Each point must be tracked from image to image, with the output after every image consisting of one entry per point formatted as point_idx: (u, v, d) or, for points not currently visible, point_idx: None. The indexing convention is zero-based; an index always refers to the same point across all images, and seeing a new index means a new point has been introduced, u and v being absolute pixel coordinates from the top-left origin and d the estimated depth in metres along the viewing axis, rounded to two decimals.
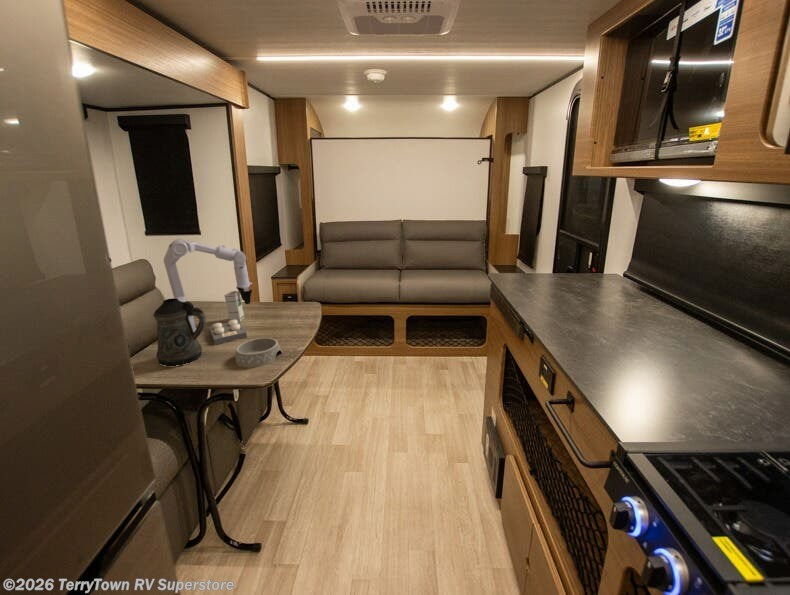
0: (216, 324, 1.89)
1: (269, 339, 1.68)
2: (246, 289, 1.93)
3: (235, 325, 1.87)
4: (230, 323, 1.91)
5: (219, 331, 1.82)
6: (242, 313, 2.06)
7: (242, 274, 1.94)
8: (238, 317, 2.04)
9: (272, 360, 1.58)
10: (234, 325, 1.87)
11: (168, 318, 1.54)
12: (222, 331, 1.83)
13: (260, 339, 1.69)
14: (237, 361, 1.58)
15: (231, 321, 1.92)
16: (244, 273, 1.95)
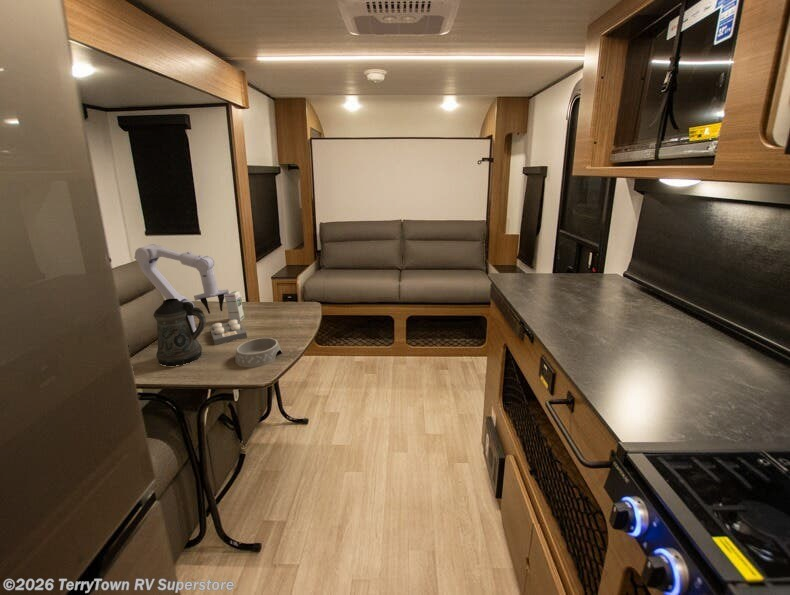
0: (216, 324, 1.89)
1: (269, 339, 1.68)
2: (194, 298, 1.82)
3: (235, 325, 1.87)
4: (230, 323, 1.91)
5: (219, 331, 1.82)
6: (242, 313, 2.06)
7: (205, 283, 1.81)
8: (238, 317, 2.04)
9: (272, 360, 1.58)
10: (234, 325, 1.87)
11: (168, 318, 1.54)
12: (222, 331, 1.83)
13: (260, 339, 1.69)
14: (237, 361, 1.58)
15: (231, 321, 1.92)
16: (208, 282, 1.81)
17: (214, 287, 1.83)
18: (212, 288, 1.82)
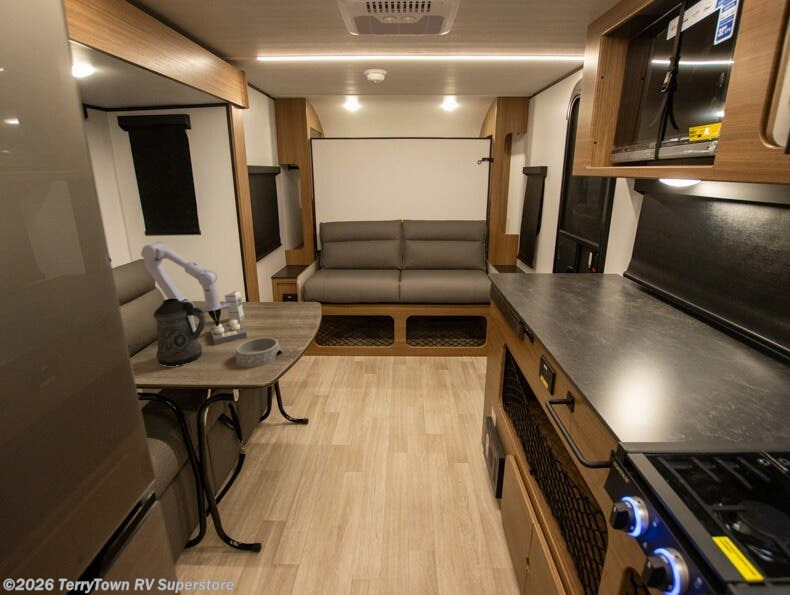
0: None
1: (269, 339, 1.68)
2: None
3: (235, 325, 1.87)
4: (230, 323, 1.91)
5: (219, 331, 1.82)
6: (242, 313, 2.06)
7: (208, 297, 1.83)
8: (238, 317, 2.04)
9: (272, 360, 1.58)
10: (234, 325, 1.87)
11: (168, 318, 1.54)
12: (222, 331, 1.83)
13: (260, 339, 1.69)
14: (237, 361, 1.58)
15: (231, 321, 1.92)
16: (210, 296, 1.83)
17: (216, 301, 1.85)
18: (214, 302, 1.84)
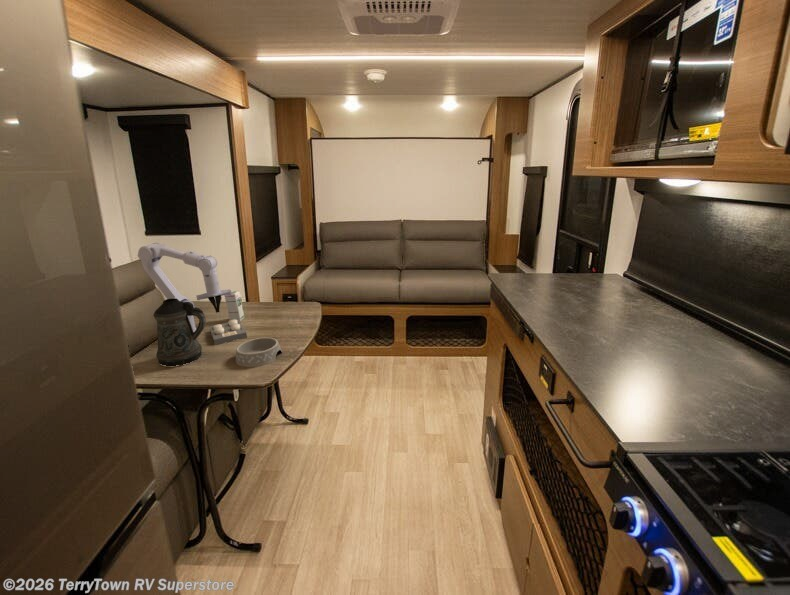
0: (216, 326, 1.90)
1: (269, 339, 1.68)
2: None
3: (235, 325, 1.87)
4: (230, 323, 1.91)
5: (219, 331, 1.82)
6: (242, 313, 2.06)
7: (208, 283, 1.80)
8: (238, 317, 2.04)
9: (272, 360, 1.58)
10: (234, 325, 1.87)
11: (168, 318, 1.54)
12: (222, 331, 1.83)
13: (260, 339, 1.69)
14: (237, 361, 1.58)
15: (231, 321, 1.92)
16: (210, 282, 1.80)
17: (217, 287, 1.82)
18: (215, 288, 1.82)
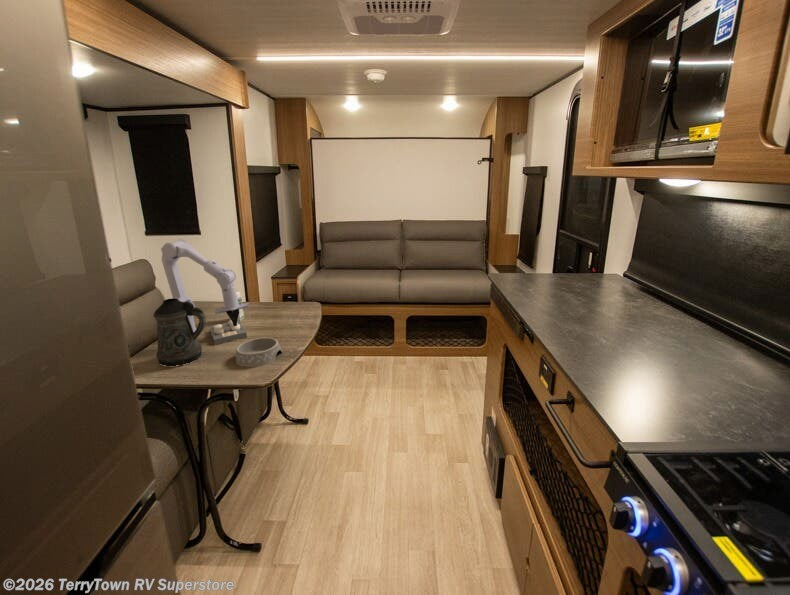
0: (216, 326, 1.90)
1: (269, 339, 1.69)
2: (215, 312, 1.81)
3: None
4: (230, 323, 1.91)
5: (219, 331, 1.82)
6: (242, 313, 2.06)
7: (226, 297, 1.80)
8: (238, 317, 2.04)
9: (272, 360, 1.58)
10: None
11: (168, 318, 1.54)
12: (222, 331, 1.83)
13: (260, 339, 1.69)
14: (237, 361, 1.58)
15: (231, 321, 1.92)
16: (228, 296, 1.80)
17: (235, 301, 1.82)
18: (233, 302, 1.81)
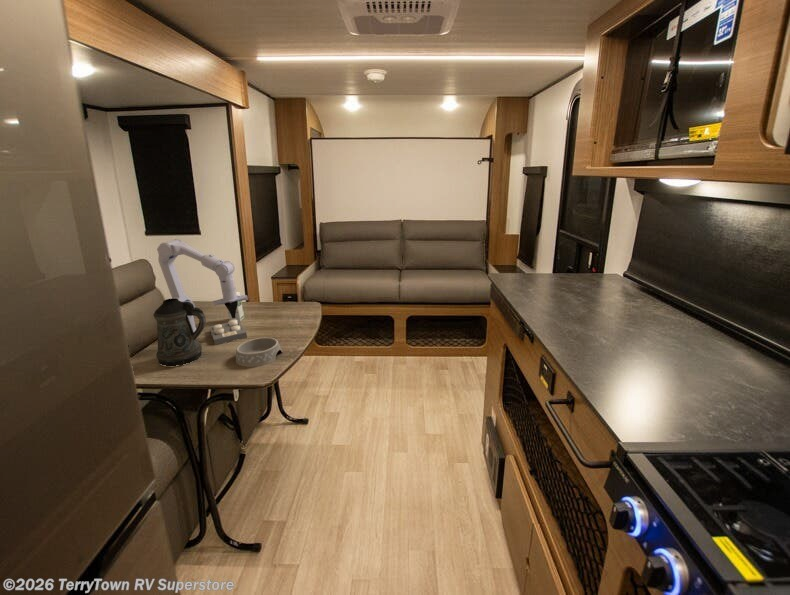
0: (216, 326, 1.90)
1: (269, 339, 1.69)
2: (213, 303, 1.80)
3: (235, 327, 1.87)
4: (230, 323, 1.91)
5: (219, 331, 1.82)
6: (242, 313, 2.06)
7: (224, 288, 1.79)
8: (238, 317, 2.04)
9: (272, 360, 1.58)
10: (234, 327, 1.87)
11: (168, 318, 1.54)
12: (222, 331, 1.83)
13: (260, 339, 1.69)
14: (237, 361, 1.58)
15: (231, 321, 1.92)
16: (227, 288, 1.79)
17: (233, 293, 1.81)
18: (231, 294, 1.80)
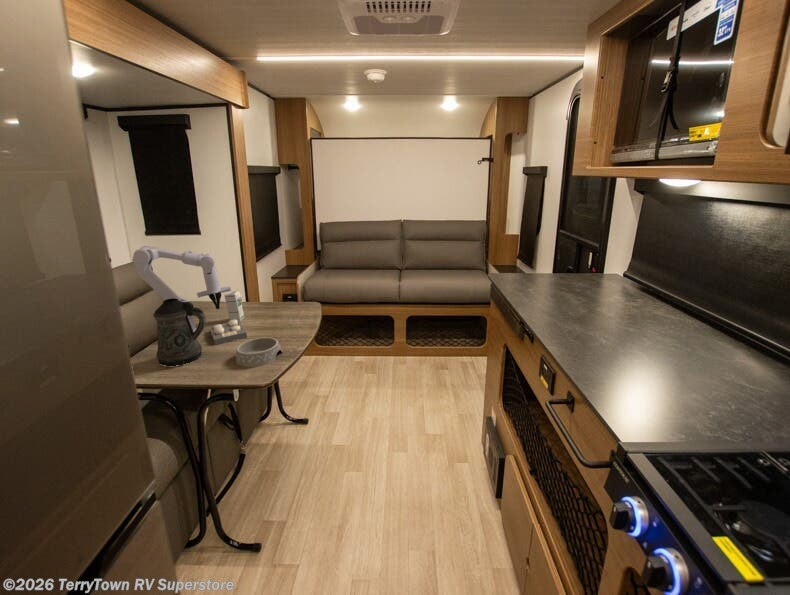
0: (216, 326, 1.90)
1: (269, 339, 1.69)
2: (197, 295, 1.86)
3: (235, 327, 1.87)
4: (230, 323, 1.91)
5: (219, 331, 1.82)
6: (242, 313, 2.06)
7: (210, 280, 1.85)
8: (238, 317, 2.04)
9: (272, 360, 1.58)
10: (234, 327, 1.87)
11: (168, 318, 1.54)
12: (222, 331, 1.83)
13: (260, 339, 1.69)
14: (237, 361, 1.58)
15: (231, 321, 1.92)
16: (212, 279, 1.86)
17: (216, 284, 1.87)
18: (215, 285, 1.87)
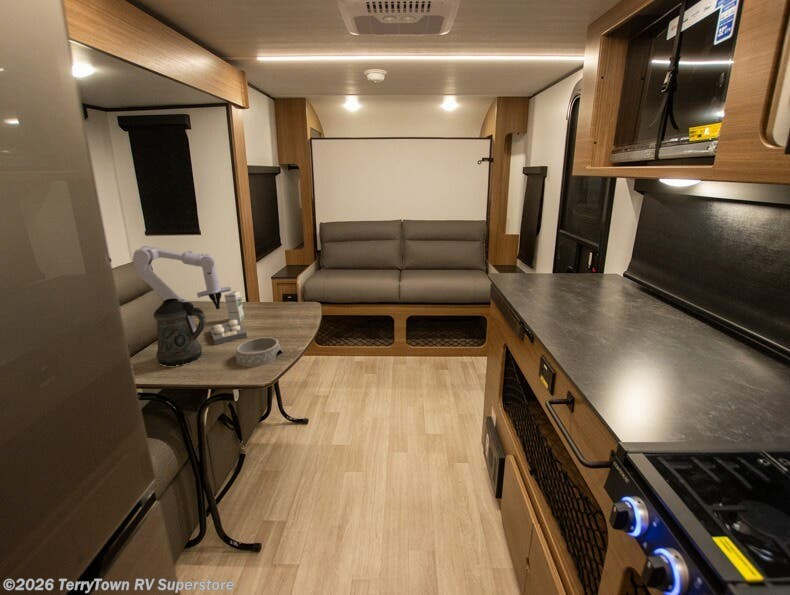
0: (216, 326, 1.90)
1: (270, 339, 1.69)
2: (197, 295, 1.86)
3: (235, 327, 1.87)
4: (230, 323, 1.91)
5: (219, 331, 1.82)
6: (242, 313, 2.06)
7: (210, 280, 1.85)
8: (238, 317, 2.04)
9: (272, 359, 1.59)
10: (234, 327, 1.87)
11: (168, 318, 1.54)
12: (222, 331, 1.83)
13: (261, 339, 1.69)
14: (238, 360, 1.58)
15: (231, 321, 1.92)
16: (212, 279, 1.86)
17: (216, 284, 1.87)
18: (215, 285, 1.87)
